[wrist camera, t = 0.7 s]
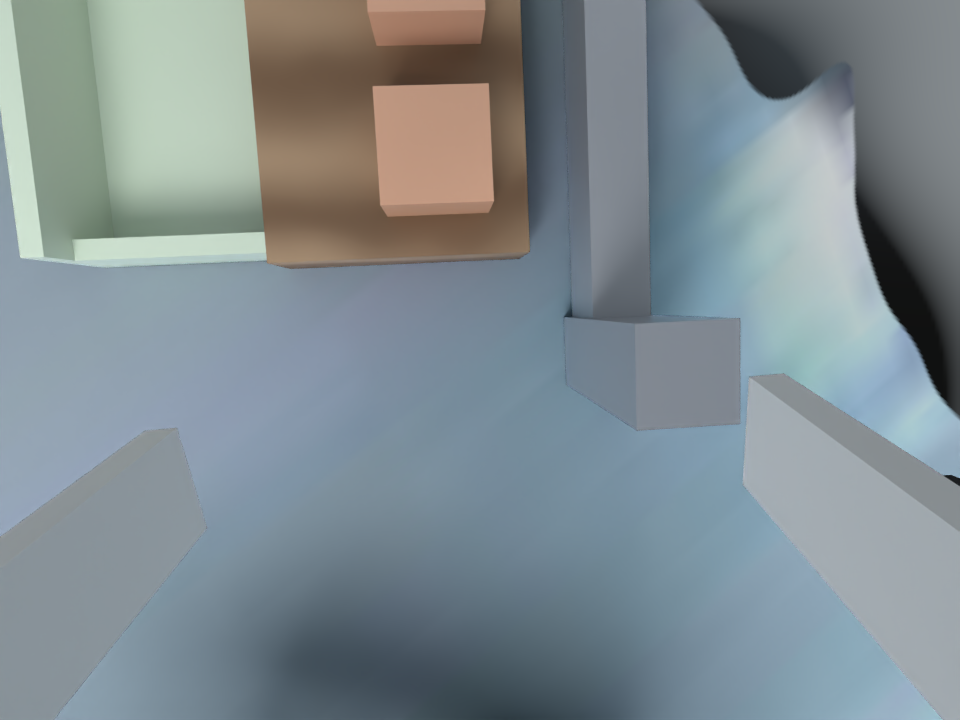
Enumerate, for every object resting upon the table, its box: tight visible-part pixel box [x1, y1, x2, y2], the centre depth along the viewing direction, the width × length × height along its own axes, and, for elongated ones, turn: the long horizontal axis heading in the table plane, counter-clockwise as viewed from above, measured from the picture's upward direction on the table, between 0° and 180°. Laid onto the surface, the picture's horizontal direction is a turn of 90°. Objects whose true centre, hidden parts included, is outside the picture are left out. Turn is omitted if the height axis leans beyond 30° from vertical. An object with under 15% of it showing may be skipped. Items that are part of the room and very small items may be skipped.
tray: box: [0, 0, 267, 268], centre depth 26 cm, size 18×10×6 cm, turn 3°
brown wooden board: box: [244, 0, 530, 269], centre depth 28 cm, size 17×13×4 cm
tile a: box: [373, 83, 494, 217], centre depth 25 cm, size 5×5×3 cm
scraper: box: [562, 0, 740, 431], centre depth 25 cm, size 24×4×12 cm, turn 3°
